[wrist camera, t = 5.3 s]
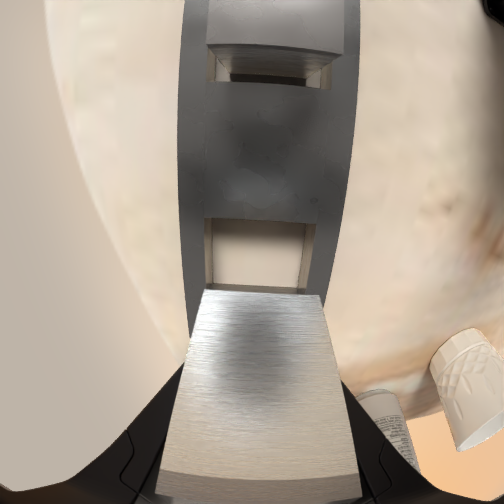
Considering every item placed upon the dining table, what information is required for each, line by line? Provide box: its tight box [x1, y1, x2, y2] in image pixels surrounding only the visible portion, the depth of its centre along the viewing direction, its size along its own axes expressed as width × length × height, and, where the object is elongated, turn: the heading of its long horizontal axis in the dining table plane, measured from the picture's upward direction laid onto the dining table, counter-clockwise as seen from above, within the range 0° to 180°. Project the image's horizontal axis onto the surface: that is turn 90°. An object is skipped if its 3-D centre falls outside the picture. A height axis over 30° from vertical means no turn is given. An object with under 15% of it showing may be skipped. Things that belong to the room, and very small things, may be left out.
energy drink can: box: [356, 389, 421, 474], centre depth 19 cm, size 6×6×15 cm
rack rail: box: [177, 0, 360, 338], centre depth 13 cm, size 8×23×2 cm, turn 177°
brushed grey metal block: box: [155, 289, 362, 504], centre depth 8 cm, size 4×4×7 cm
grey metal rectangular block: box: [206, 0, 344, 79], centre depth 9 cm, size 4×4×7 cm
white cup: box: [429, 328, 504, 452], centre depth 18 cm, size 8×8×10 cm
